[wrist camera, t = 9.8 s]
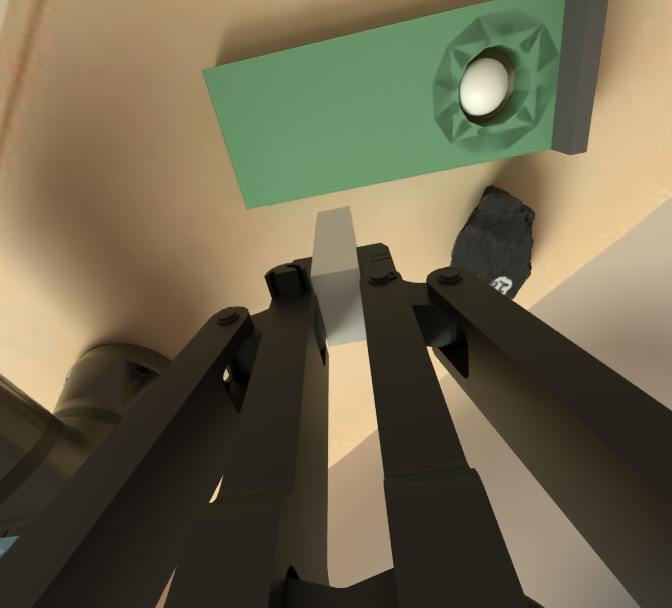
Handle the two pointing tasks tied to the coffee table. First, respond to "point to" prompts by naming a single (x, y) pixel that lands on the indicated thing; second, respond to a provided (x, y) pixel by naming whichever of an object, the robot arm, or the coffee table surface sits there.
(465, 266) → the mineral
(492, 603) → the robot arm
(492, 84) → the ball
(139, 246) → the coffee table surface
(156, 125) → the coffee table surface
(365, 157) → the green
